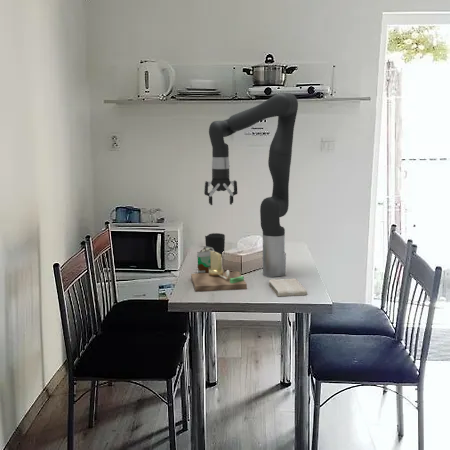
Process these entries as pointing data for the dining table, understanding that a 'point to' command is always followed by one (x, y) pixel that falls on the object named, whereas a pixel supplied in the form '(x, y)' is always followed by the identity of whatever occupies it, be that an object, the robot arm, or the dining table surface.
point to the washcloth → (287, 287)
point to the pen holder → (216, 242)
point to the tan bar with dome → (217, 265)
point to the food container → (204, 260)
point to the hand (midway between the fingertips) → (221, 204)
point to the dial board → (218, 282)
